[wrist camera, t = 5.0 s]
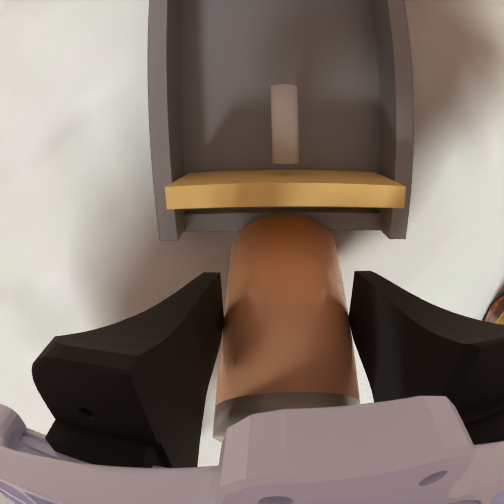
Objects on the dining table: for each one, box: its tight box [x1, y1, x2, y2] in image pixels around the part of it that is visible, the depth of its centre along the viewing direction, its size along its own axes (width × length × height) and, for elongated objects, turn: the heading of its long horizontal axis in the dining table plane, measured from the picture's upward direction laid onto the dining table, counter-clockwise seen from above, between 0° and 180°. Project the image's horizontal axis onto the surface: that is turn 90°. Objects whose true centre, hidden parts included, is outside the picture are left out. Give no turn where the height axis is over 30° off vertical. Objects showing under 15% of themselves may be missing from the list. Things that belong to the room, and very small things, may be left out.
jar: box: [213, 214, 360, 442], centre depth 12 cm, size 5×5×8 cm
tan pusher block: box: [165, 84, 406, 209], centre depth 11 cm, size 4×8×4 cm, turn 92°
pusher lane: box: [148, 0, 414, 241], centre depth 10 cm, size 14×11×6 cm
